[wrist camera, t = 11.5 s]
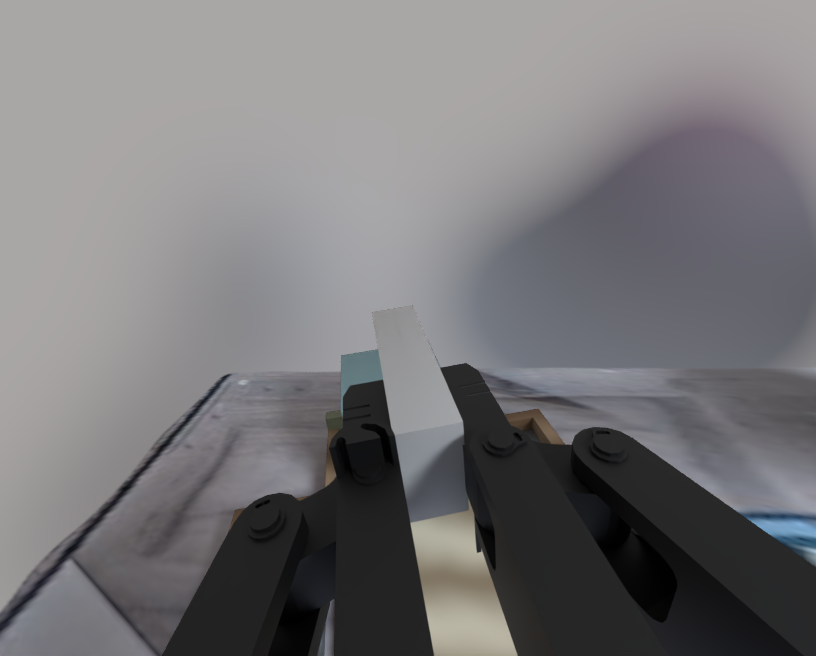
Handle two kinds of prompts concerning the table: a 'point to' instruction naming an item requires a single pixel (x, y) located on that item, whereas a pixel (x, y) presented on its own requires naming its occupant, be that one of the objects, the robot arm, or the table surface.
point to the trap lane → (456, 566)
